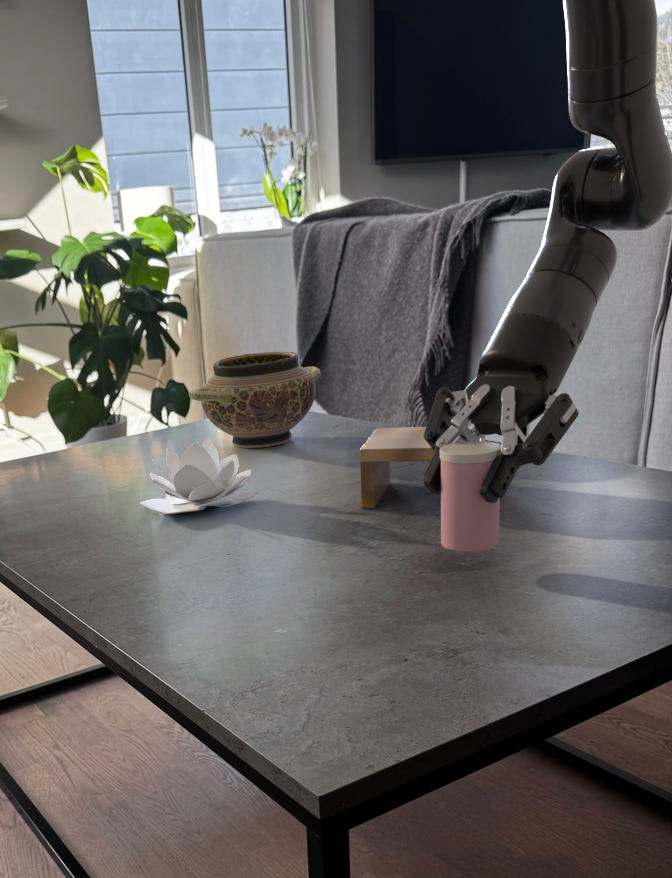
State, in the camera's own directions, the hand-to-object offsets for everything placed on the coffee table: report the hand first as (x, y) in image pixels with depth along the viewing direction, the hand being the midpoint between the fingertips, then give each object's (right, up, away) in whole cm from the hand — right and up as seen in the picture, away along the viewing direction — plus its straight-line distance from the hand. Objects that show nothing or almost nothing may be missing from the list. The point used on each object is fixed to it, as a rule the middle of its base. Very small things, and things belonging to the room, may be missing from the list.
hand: (458, 493), depth 83 cm
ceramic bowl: (-13, +18, +62) cm, 66 cm away
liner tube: (+2, -4, +3) cm, 6 cm away
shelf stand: (+4, +4, +27) cm, 27 cm away
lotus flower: (-23, +3, +32) cm, 40 cm away
